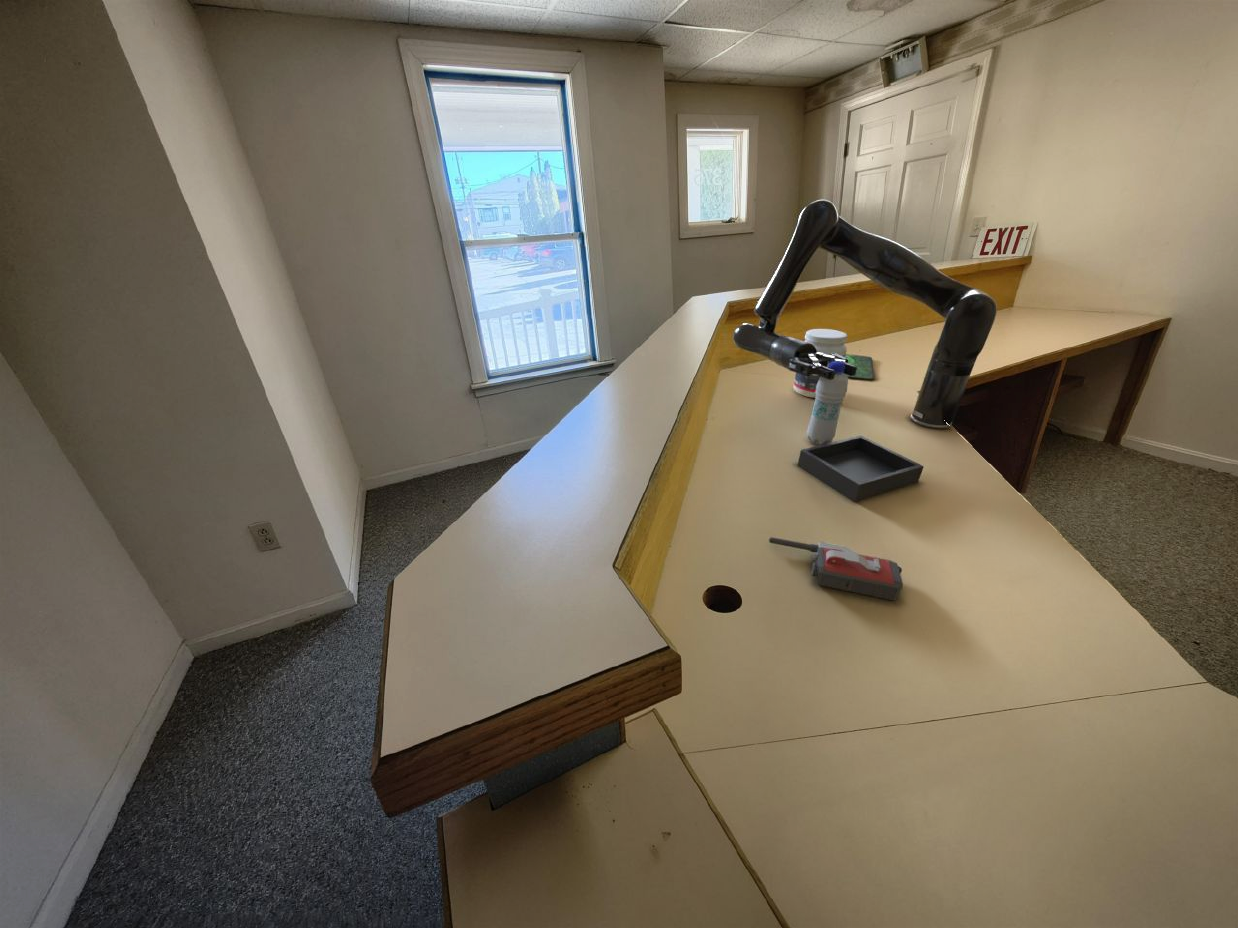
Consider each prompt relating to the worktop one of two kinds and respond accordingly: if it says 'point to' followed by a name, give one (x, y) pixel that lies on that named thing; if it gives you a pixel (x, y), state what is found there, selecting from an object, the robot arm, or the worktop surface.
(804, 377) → the supplement tub
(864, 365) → the mouse mat
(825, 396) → the bottle
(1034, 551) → the worktop surface
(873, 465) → the tray
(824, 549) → the walkie-talkie
